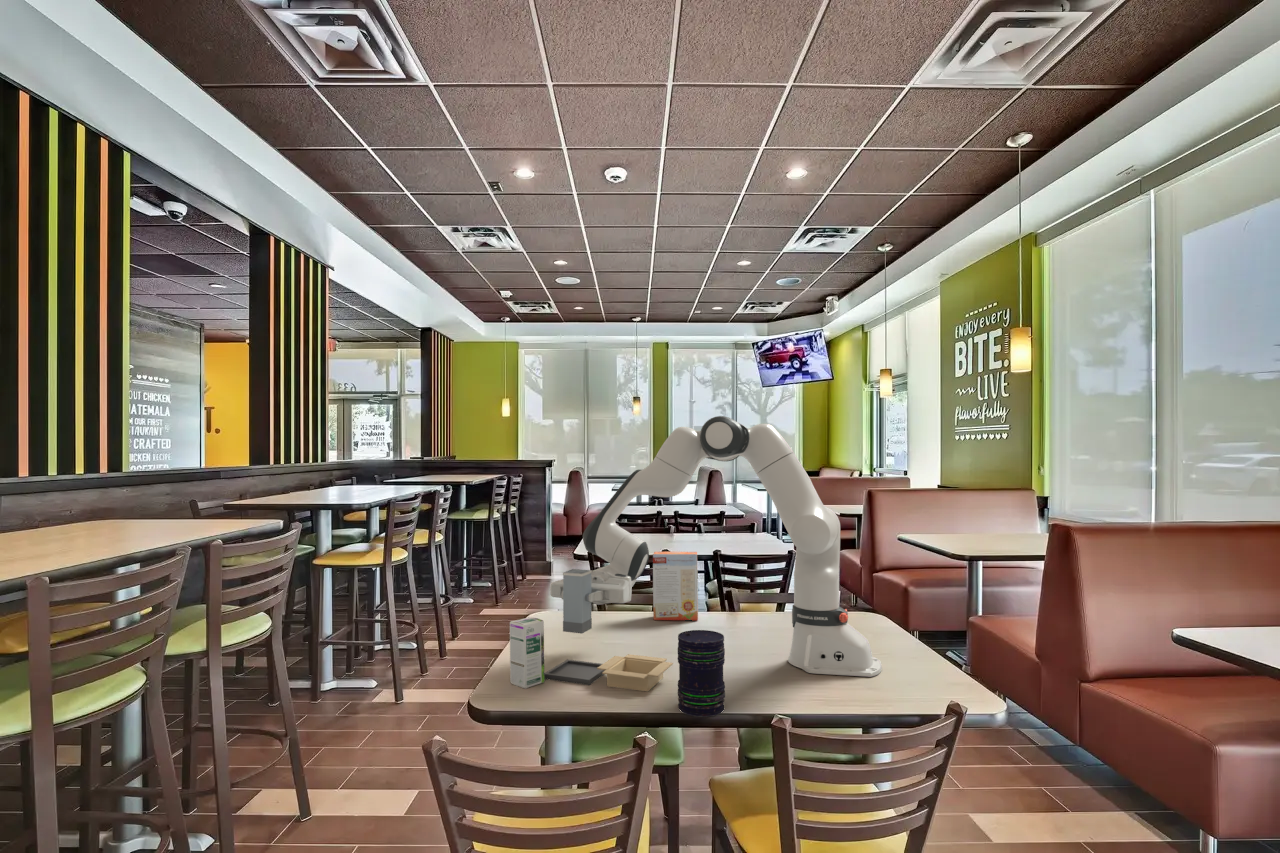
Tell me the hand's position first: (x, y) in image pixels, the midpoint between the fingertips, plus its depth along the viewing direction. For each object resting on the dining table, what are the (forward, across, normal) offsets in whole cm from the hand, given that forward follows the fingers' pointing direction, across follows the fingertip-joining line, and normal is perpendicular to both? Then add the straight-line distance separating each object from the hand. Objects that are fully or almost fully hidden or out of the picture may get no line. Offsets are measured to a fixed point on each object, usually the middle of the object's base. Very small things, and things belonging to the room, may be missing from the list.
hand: (575, 597), depth 171 cm
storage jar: (+9, +34, +19) cm, 40 cm away
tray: (-1, 0, +19) cm, 19 cm away
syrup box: (+9, -8, +19) cm, 22 cm away
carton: (-1, +15, +18) cm, 24 cm away
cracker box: (-61, +4, +19) cm, 64 cm away
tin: (-1, 0, +8) cm, 8 cm away
